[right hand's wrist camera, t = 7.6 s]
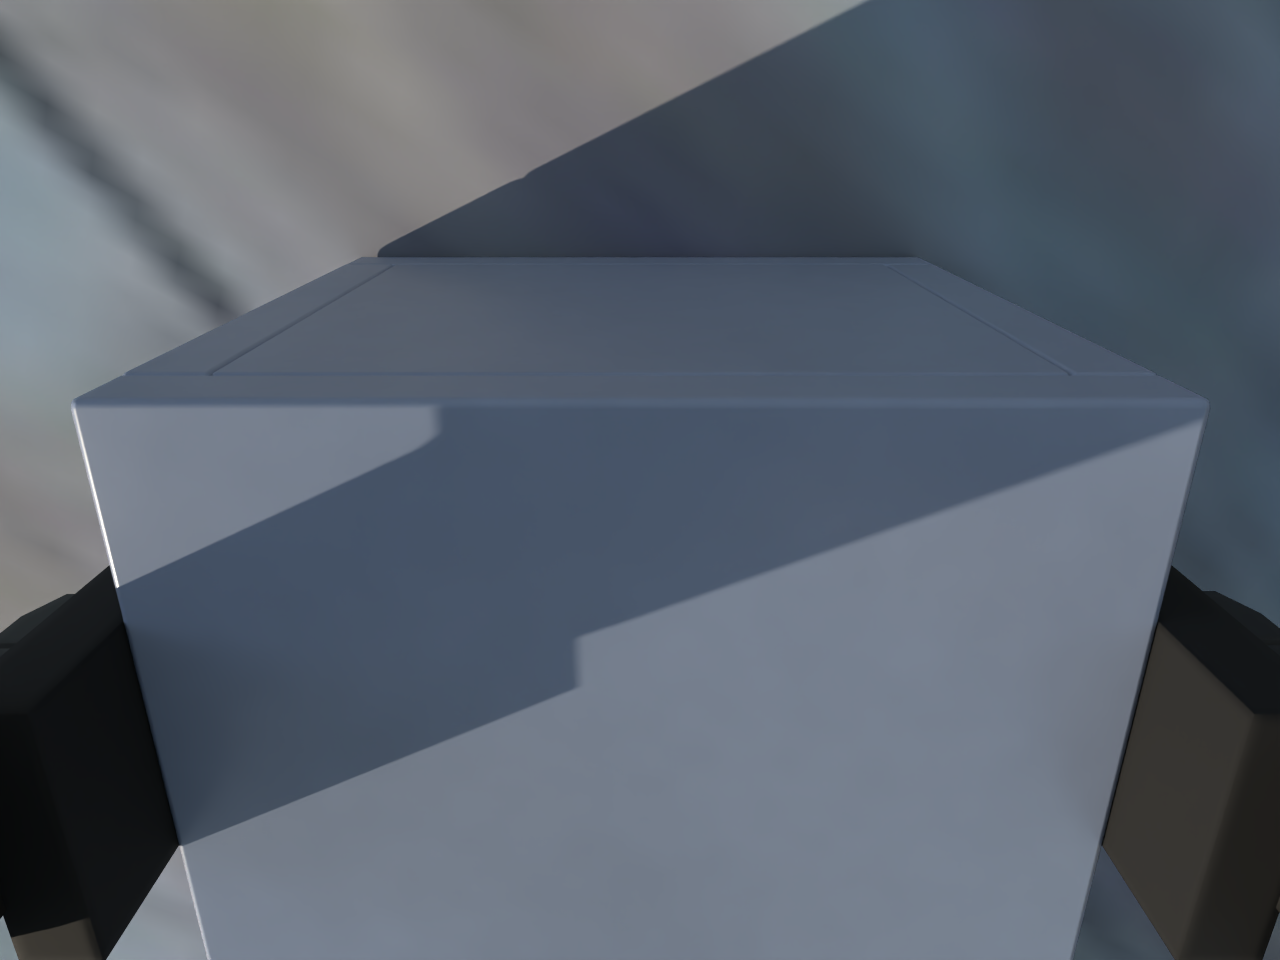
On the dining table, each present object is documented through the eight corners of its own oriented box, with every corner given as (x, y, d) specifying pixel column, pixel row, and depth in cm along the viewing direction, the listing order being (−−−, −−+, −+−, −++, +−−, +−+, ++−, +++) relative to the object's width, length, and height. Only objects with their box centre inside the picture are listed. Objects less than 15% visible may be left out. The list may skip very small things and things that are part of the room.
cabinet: (830, 1041, 23) (932, 1531, 15) (448, 1041, 23) (347, 1532, 15) (921, 256, 15) (1218, 400, 7) (358, 256, 15) (63, 398, 7)
